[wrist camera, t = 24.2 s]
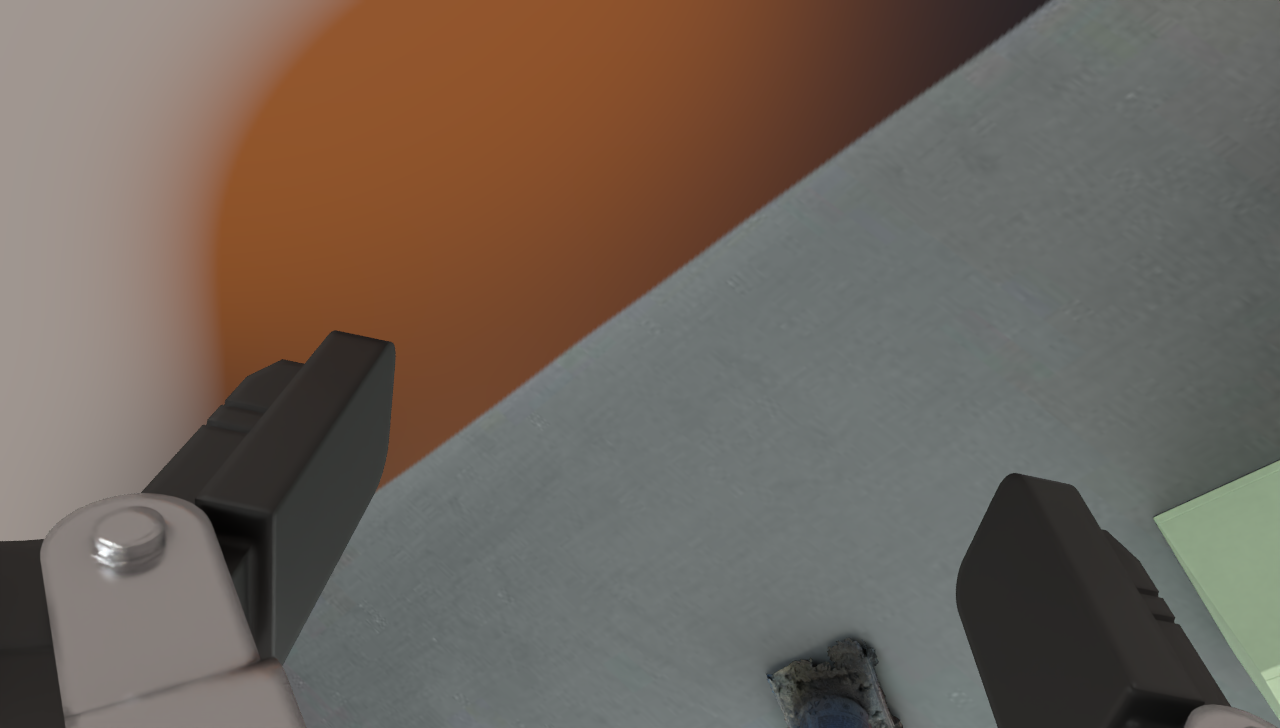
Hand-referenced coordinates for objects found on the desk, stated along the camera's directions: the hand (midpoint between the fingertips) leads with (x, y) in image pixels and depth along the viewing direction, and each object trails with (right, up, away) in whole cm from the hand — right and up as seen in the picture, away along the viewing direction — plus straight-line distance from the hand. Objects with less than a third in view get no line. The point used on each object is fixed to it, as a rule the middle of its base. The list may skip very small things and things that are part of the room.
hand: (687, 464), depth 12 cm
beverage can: (+11, -19, +44) cm, 49 cm away
